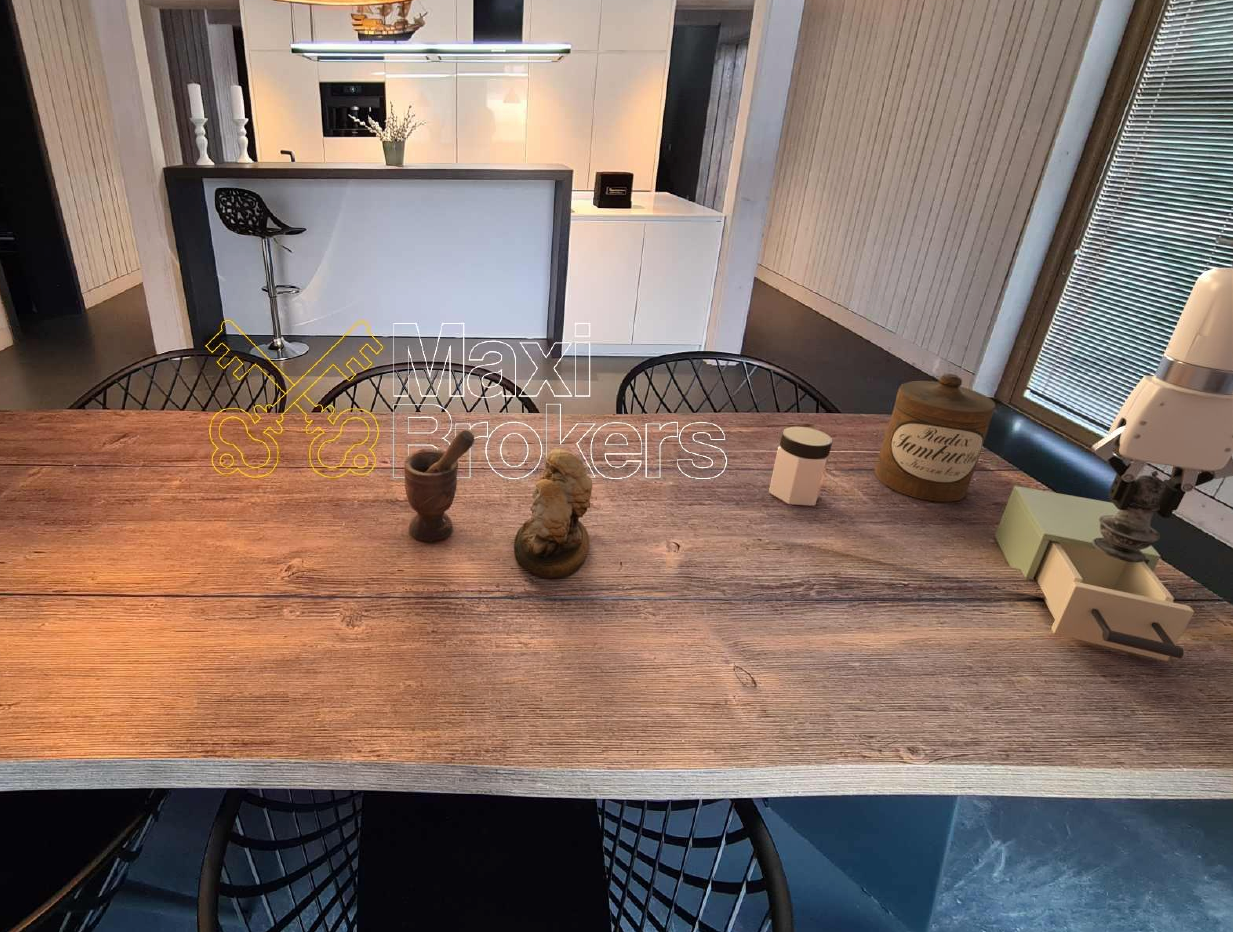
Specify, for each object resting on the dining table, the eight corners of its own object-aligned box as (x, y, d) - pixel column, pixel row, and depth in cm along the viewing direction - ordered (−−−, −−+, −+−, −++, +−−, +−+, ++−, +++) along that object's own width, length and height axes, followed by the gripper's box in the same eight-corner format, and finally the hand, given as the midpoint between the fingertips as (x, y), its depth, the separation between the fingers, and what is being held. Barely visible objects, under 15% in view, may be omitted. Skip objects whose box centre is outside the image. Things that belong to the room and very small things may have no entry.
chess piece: (1141, 545, 89) (1179, 467, 84) (1155, 569, 84) (1196, 487, 80) (1084, 532, 92) (1118, 455, 87) (1094, 554, 87) (1131, 474, 82)
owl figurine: (523, 511, 117) (528, 423, 110) (591, 520, 114) (600, 430, 107) (506, 574, 100) (510, 475, 94) (584, 586, 98) (594, 485, 91)
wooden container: (880, 492, 123) (912, 382, 115) (869, 458, 136) (898, 356, 127) (975, 510, 118) (1016, 396, 110) (955, 472, 131) (991, 367, 122)
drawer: (1190, 694, 79) (1220, 642, 76) (1069, 663, 84) (1092, 613, 80) (1121, 596, 96) (1144, 550, 92) (1023, 575, 100) (1041, 530, 97)
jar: (810, 484, 126) (824, 427, 121) (827, 507, 119) (843, 447, 114) (761, 481, 127) (773, 424, 122) (775, 504, 119) (789, 444, 115)
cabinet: (1131, 613, 94) (1161, 556, 90) (1021, 589, 98) (1044, 533, 94) (1091, 555, 106) (1115, 503, 102) (994, 536, 111) (1014, 485, 107)
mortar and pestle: (479, 521, 114) (481, 414, 106) (470, 550, 106) (472, 438, 98) (413, 513, 115) (410, 408, 108) (400, 542, 108) (396, 431, 100)
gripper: (1277, 376, 78) (1207, 509, 86) (1099, 356, 85) (1048, 481, 92) (1320, 398, 72) (1241, 540, 79) (1125, 375, 78) (1068, 508, 85)
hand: (1138, 507), depth 85 cm, fingers closed on chess piece, 3 cm apart
